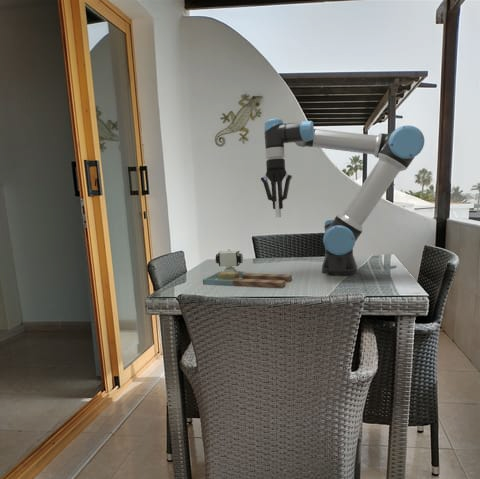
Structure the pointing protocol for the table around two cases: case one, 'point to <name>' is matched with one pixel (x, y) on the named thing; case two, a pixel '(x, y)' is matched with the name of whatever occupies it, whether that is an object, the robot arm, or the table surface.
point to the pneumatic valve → (229, 259)
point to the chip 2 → (232, 275)
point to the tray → (211, 280)
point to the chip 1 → (221, 275)
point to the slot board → (263, 280)
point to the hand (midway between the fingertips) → (278, 217)
